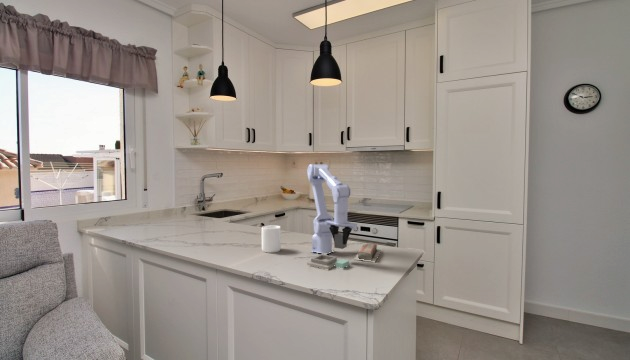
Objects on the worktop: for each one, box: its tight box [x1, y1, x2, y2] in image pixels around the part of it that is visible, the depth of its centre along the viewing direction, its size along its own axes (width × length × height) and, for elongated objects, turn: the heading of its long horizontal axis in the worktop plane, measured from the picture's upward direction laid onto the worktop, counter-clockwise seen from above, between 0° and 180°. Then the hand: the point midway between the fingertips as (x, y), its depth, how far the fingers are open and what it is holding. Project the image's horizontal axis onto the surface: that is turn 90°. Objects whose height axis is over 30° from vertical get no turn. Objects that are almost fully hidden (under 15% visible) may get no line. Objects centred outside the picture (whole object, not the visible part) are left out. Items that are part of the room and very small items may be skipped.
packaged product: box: [357, 242, 382, 261], centre depth 144 cm, size 18×5×10 cm
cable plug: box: [335, 258, 350, 269], centre depth 129 cm, size 4×6×2 cm, turn 141°
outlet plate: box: [306, 254, 342, 270], centre depth 132 cm, size 10×12×3 cm
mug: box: [261, 224, 282, 254], centre depth 152 cm, size 10×12×12 cm
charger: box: [333, 231, 348, 250], centre depth 134 cm, size 4×4×6 cm
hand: (340, 243), depth 134 cm, fingers closed on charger, 4 cm apart
